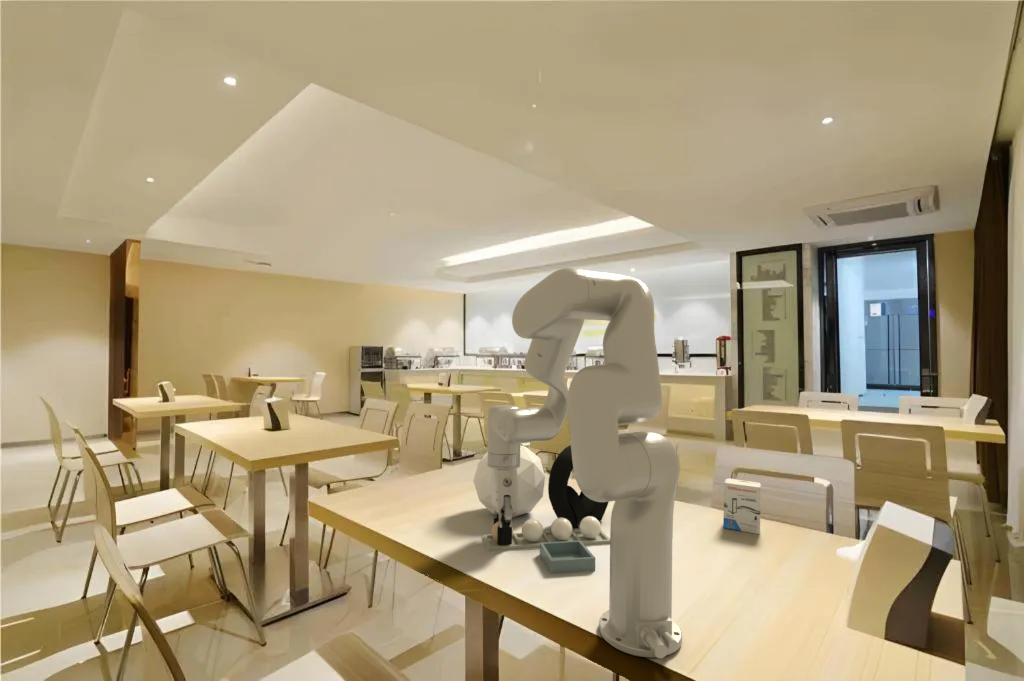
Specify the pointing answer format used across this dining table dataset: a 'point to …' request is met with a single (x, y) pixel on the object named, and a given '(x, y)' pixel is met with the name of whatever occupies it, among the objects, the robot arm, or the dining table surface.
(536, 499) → the polyhedron
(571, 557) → the dish
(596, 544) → the carton
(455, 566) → the dining table surface
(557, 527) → the white egg
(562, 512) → the headphones
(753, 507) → the ink box
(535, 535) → the white egg
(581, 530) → the white egg
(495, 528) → the brown egg
